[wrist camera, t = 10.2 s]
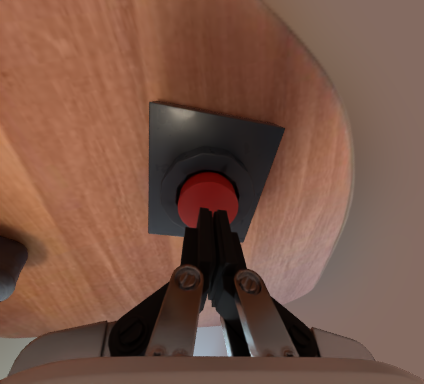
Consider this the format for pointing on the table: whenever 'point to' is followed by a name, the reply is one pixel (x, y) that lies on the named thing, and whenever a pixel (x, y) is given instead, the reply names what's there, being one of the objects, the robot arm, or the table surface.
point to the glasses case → (10, 265)
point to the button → (206, 197)
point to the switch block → (206, 160)
